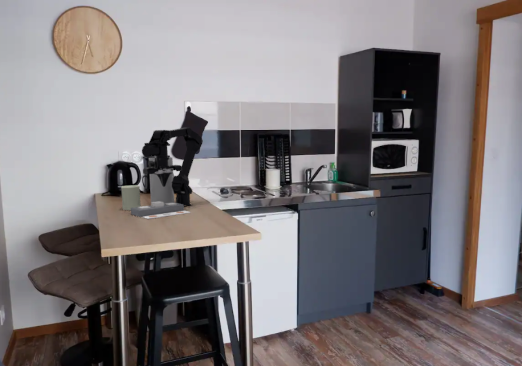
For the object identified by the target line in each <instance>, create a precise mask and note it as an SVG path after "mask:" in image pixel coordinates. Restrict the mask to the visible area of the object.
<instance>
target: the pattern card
mask: <svg viewBox="0 0 522 366" xmlns="http://www.w3.org/2000/svg"><path fill="white" fill-rule="evenodd" d="M184 214H191V211H187V210H184V211H178V212H171V213H164V214H157V215H150V216H144V217H142V219H146V220H150V219H157V218H165V217H172V216H177V215H184Z"/></svg>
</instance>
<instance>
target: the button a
mask: <svg viewBox="0 0 522 366" xmlns="http://www.w3.org/2000/svg"><path fill="white" fill-rule="evenodd" d="M148 206H149V205H143V207H142V206H141V207H138V209H148V208H150V207H148Z"/></svg>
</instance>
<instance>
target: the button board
mask: <svg viewBox="0 0 522 366" xmlns="http://www.w3.org/2000/svg"><path fill="white" fill-rule="evenodd" d="M173 203H176V201H174V202H173ZM165 204H166V203H165ZM165 204H164V206H163V207H156V208H155V207H151V204H150V205H147V206H148V207H150V208H148V209H138V207H134V208H131V210H130V215H133V216H136V217H138V218H143V217H144V216H150V215H157V214H164V213H171V212H178V211H185V206H184V205H183V204H179V203H176V204H177V205H171V206H167V205H165ZM143 206H144V205H143ZM143 206H141V207H143Z"/></svg>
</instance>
